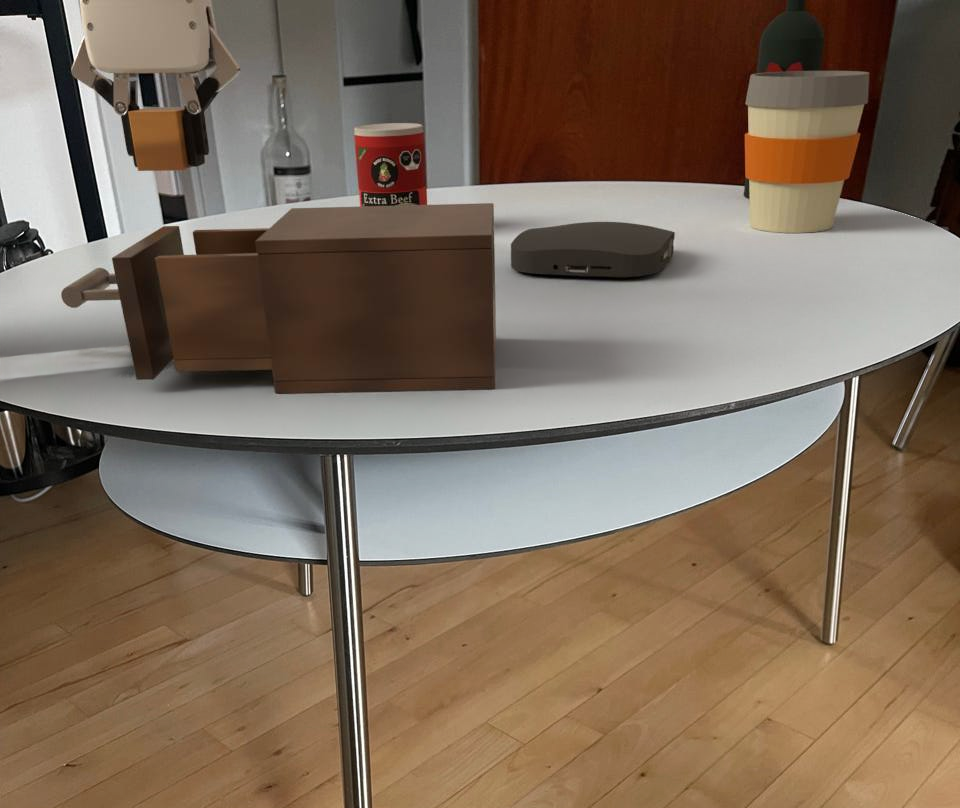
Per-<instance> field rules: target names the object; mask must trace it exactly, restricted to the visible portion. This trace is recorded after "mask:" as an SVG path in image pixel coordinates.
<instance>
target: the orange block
mask: <svg viewBox="0 0 960 808" xmlns="http://www.w3.org/2000/svg"><path fill="white" fill-rule="evenodd" d="M184 107H185V106H157V107H156V106H154V107H151V106H150V107H146V108H145V107H144V108H141V109H139V110H134V111H129V112H128V114H129V120H130V126H131V132H132V138H133V144H134V150H135V156H136V162H137V167H136V168H137V171H138V172H161V171H162V172H167V171H168V172H169V171H170V172H171V171H176V172H177V171H179V172H180V171H186V170H187V169H188V170H189V169H191V168H192V167H191V165H189V163H188V157H187V150H186V143H185V136H184V129H183V122H182V116H183V115H185V108H184Z"/></svg>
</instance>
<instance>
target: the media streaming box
mask: <svg viewBox="0 0 960 808" xmlns="http://www.w3.org/2000/svg"><path fill="white" fill-rule="evenodd" d="M675 234H676V233H675V231H672V230H668V229H665V228H661V227H656V226H651V225H645V224H639V223H631V222H621V221H586V222H576V223H575V222H574V223H566V224H561V225H560V224H559V225H554V226H545V227H534V228H533V227H532V228H528V229H526V230H523V231H521V233H519V234H517V235H516V236H515V238H514V239H513V240H512V242H511V243H510V267H511V269H512V270H515V271H517V272H521V273H526V274H534V275H546V276H563V277H564V276H565V277H587V278H618V279H619V278H620V279H621V278H622V279H627V278H636V277H646V276H650V275H654V274H657V273H659V272H661V271H662V270H663V269H664V268H665V266H666V265H667V264H668V263H669V262H670V260H671V259H672V257H673V256H674V249H675V247H674V241H675V236H676V235H675Z"/></svg>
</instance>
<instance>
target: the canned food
mask: <svg viewBox="0 0 960 808" xmlns="http://www.w3.org/2000/svg"><path fill="white" fill-rule="evenodd" d="M353 129H354V133H353V135H354V136H353V137H354V150H355V160H356V161H355V163H356V173H357V174H356V175H357V185H358V194H359V195H358V196H359V197H358V198H359V207H363V206H396V205H399V204H402V203H413V204H417V205H428V191H427V189H428V188H427V186H428V185H427V169H426V168H427V167H426V166H427V165H426V145H425V131H424V125H423V124H421V123H414V122H413V123H412V122H411V123H410V122H388V123H387V122H386V123H372V124H363V125H359V126H355V127H354V128H353Z"/></svg>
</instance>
